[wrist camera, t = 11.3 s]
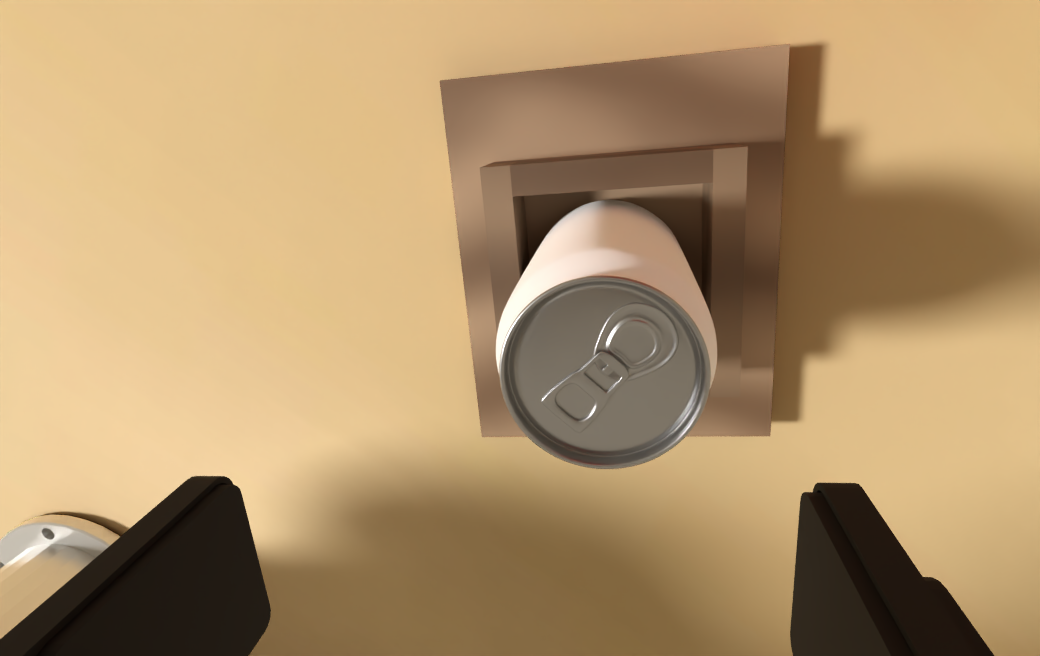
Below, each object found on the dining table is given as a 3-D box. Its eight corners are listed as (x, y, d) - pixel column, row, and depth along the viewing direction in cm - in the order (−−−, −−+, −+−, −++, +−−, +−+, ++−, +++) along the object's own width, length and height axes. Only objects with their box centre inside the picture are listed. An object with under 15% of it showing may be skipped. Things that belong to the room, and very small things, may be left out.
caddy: (763, 421, 30) (786, 470, 26) (487, 423, 33) (468, 468, 28) (780, 47, 25) (812, 34, 21) (449, 82, 27) (418, 76, 23)
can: (714, 265, 27) (783, 374, 16) (612, 364, 29) (609, 523, 18) (603, 166, 26) (593, 205, 15) (508, 276, 28) (437, 382, 17)
